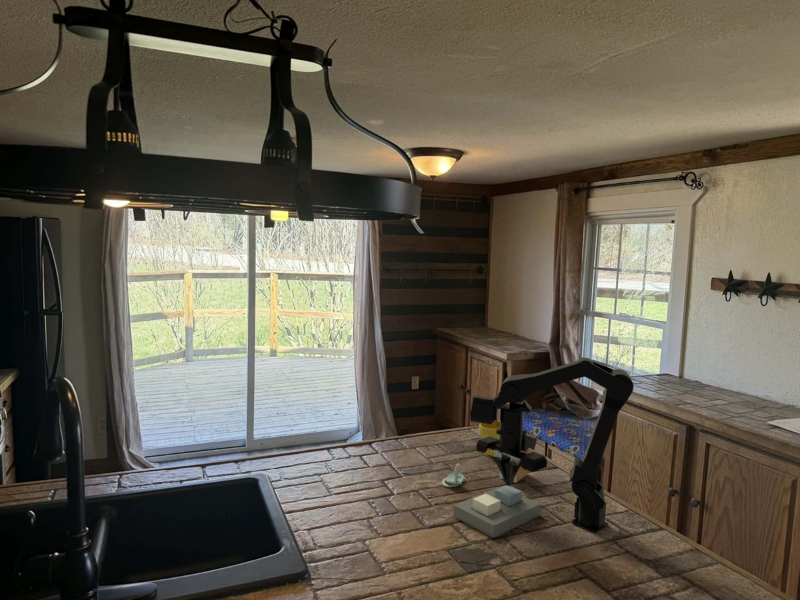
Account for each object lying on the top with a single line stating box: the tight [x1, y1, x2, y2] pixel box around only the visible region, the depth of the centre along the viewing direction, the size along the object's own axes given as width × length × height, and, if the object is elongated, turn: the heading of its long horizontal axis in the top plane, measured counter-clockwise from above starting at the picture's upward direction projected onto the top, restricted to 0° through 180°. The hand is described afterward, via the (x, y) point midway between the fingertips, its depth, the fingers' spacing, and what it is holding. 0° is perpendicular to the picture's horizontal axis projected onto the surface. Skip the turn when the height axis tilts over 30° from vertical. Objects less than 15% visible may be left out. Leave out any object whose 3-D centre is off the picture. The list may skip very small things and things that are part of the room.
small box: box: [498, 448, 529, 483], centre depth 164 cm, size 8×6×10 cm
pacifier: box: [441, 463, 465, 488], centre depth 158 cm, size 7×6×6 cm
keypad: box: [453, 486, 541, 539], centre depth 139 cm, size 13×18×3 cm
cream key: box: [473, 494, 501, 516], centre depth 136 cm, size 5×5×3 cm
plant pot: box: [478, 419, 500, 457], centre depth 182 cm, size 10×10×10 cm
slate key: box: [495, 484, 523, 506], centre depth 142 cm, size 5×5×3 cm
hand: (509, 485), depth 141 cm, fingers closed
